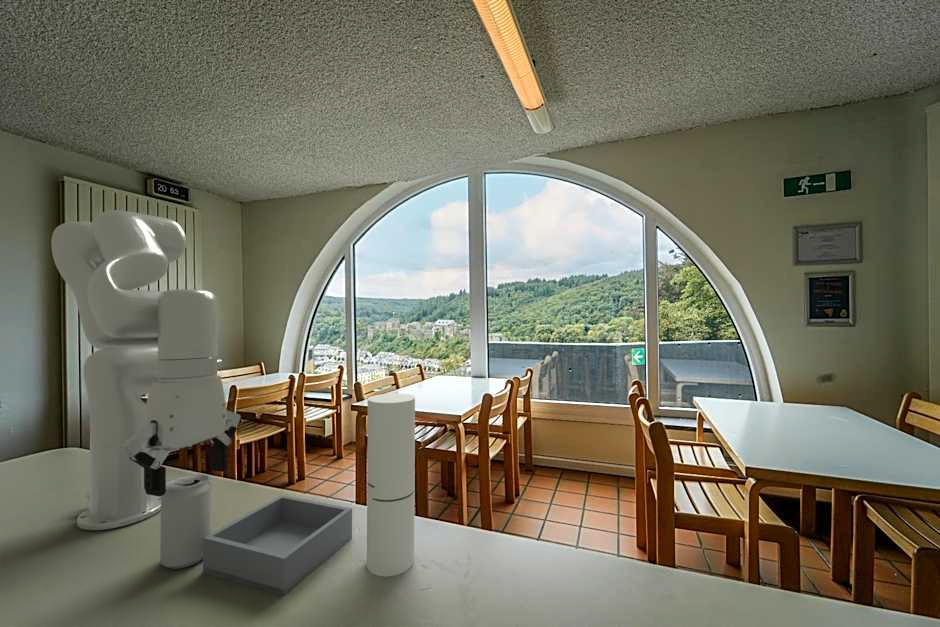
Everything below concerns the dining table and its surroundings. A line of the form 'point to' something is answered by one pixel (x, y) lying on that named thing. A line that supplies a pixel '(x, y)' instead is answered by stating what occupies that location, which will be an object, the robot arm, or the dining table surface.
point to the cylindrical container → (390, 483)
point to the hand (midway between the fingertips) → (189, 481)
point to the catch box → (277, 543)
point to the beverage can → (185, 520)
